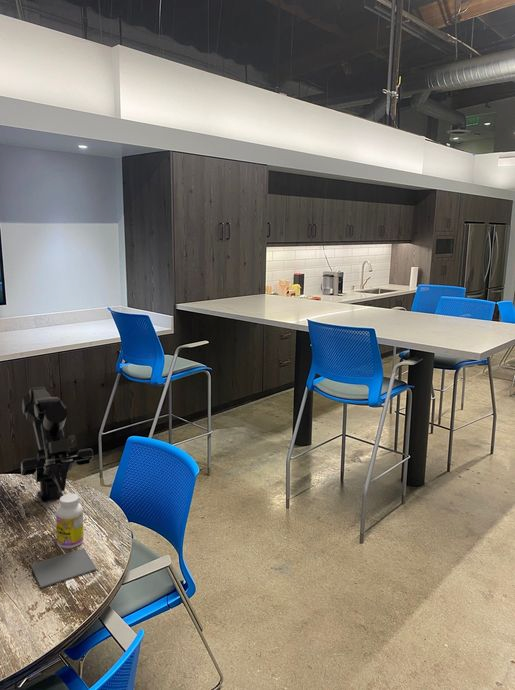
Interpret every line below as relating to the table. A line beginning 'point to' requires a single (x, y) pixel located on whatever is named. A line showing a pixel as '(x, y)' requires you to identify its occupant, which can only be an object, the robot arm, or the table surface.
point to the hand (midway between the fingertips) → (62, 490)
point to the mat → (62, 567)
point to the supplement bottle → (69, 521)
